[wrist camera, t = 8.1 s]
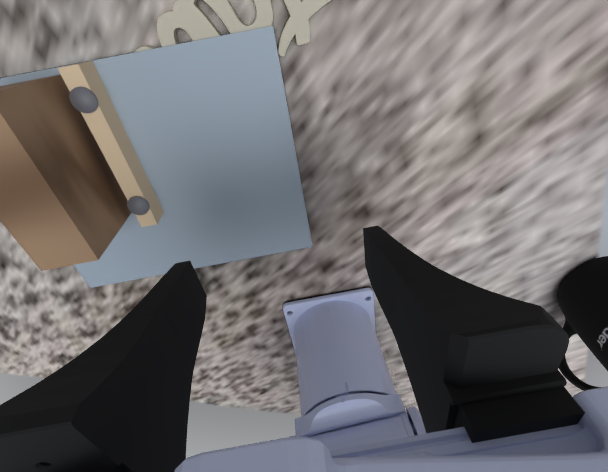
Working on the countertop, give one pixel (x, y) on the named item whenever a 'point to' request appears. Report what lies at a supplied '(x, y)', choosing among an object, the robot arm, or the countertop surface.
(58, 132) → the brown square box
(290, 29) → the decorative sign
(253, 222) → the blue flat mat
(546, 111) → the countertop surface
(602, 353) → the mug
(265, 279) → the countertop surface
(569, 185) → the countertop surface
